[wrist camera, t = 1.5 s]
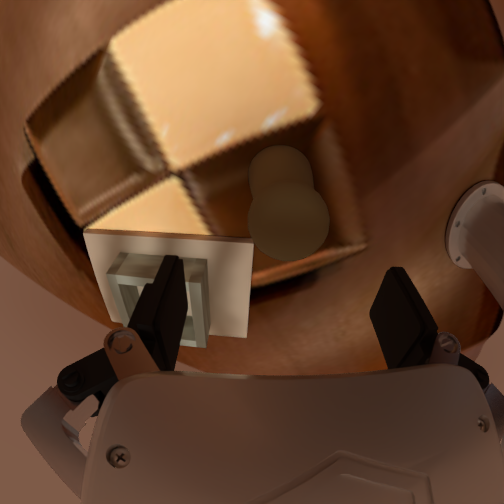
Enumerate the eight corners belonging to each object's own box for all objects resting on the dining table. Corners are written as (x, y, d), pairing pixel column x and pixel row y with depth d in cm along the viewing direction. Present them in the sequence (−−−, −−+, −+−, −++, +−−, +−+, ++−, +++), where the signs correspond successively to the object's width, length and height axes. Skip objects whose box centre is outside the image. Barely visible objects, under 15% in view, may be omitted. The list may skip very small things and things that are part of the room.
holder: (253, 238, 29) (252, 267, 25) (246, 332, 37) (245, 361, 33) (87, 228, 29) (65, 252, 25) (114, 316, 37) (102, 341, 33)
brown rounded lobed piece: (278, 216, 28) (286, 290, 18) (234, 175, 25) (217, 234, 16) (324, 177, 25) (360, 236, 16) (281, 131, 23) (295, 163, 14)
